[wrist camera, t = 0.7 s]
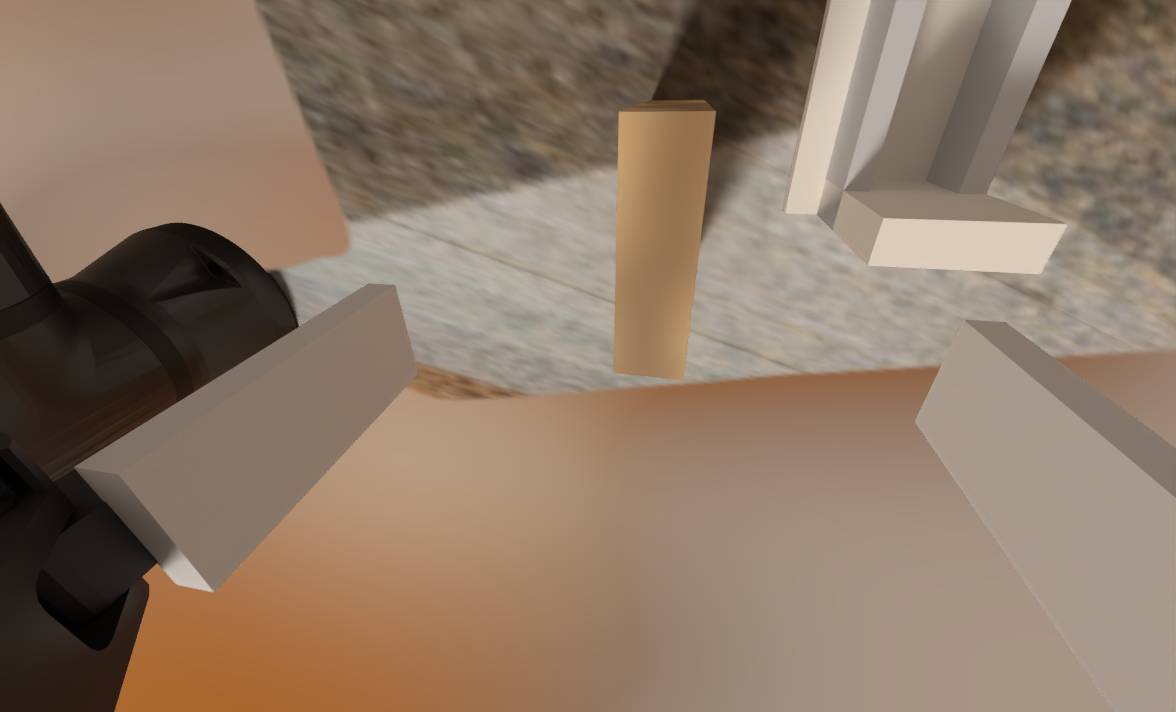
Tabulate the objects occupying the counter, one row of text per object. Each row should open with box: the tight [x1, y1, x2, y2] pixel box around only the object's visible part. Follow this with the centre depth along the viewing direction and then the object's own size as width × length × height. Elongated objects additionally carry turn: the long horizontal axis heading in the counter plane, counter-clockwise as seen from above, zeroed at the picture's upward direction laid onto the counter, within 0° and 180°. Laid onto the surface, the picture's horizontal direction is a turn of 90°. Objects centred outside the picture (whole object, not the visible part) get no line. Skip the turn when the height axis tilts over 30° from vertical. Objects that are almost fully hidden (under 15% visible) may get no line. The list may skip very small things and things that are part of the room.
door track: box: [783, 0, 1072, 274], centre depth 18 cm, size 10×18×10 cm, turn 1°
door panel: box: [614, 100, 716, 380], centre depth 22 cm, size 3×10×14 cm, turn 1°
